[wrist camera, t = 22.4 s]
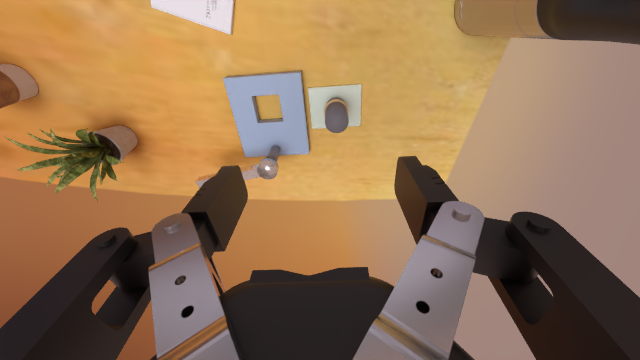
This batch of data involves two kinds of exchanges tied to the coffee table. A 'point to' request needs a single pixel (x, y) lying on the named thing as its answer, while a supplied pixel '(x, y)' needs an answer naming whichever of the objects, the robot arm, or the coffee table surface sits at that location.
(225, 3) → the external hard drive
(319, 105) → the pad
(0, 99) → the coffee cup
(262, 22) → the coffee table surface
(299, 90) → the plate
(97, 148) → the house plant
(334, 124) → the plug
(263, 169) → the clip
